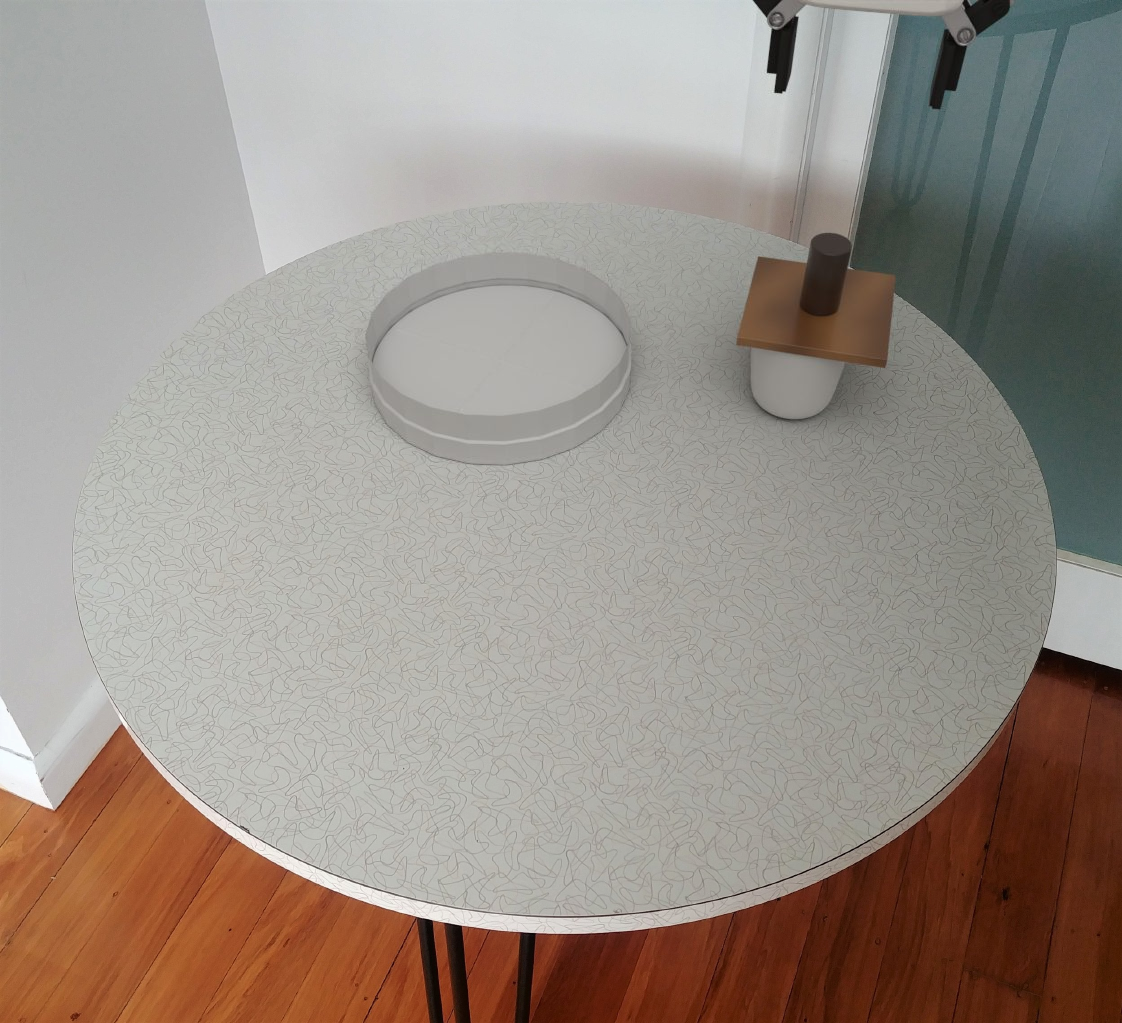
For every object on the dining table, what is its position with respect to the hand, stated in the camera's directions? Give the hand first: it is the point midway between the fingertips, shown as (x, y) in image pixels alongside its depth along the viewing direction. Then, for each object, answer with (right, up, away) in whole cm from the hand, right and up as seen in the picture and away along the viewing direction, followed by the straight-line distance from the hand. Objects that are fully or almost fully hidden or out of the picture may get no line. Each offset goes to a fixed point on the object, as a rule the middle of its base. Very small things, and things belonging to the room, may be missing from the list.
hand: (857, 92), depth 68 cm
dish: (-24, -15, +23) cm, 37 cm away
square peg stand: (+1, -11, +15) cm, 19 cm away
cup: (+1, -17, +21) cm, 27 cm away
